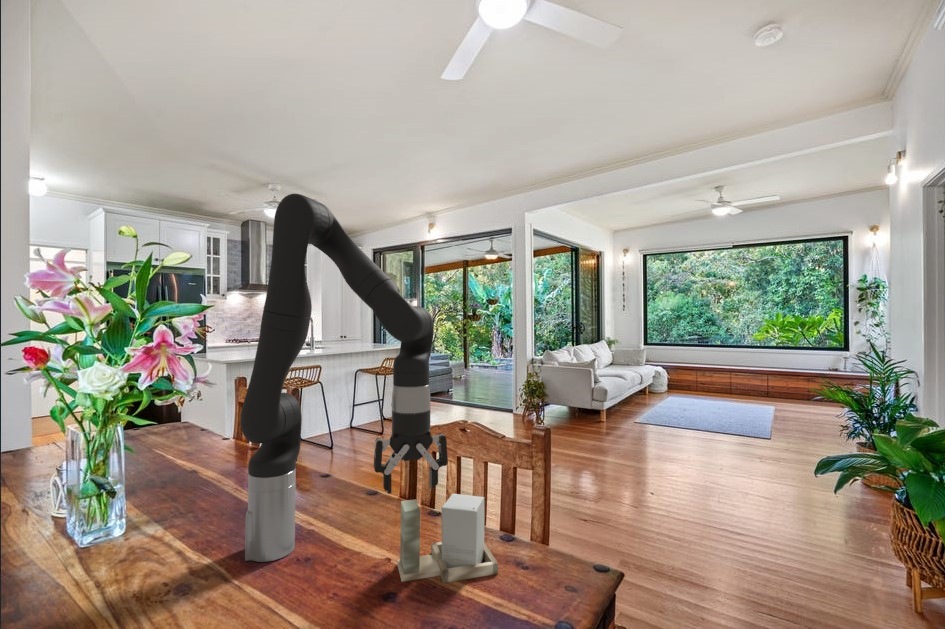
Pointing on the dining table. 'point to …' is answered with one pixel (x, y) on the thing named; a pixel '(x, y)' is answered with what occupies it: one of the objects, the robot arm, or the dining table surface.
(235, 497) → the dining table surface
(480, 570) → the tray with upright post
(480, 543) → the supplement box
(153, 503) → the dining table surface
